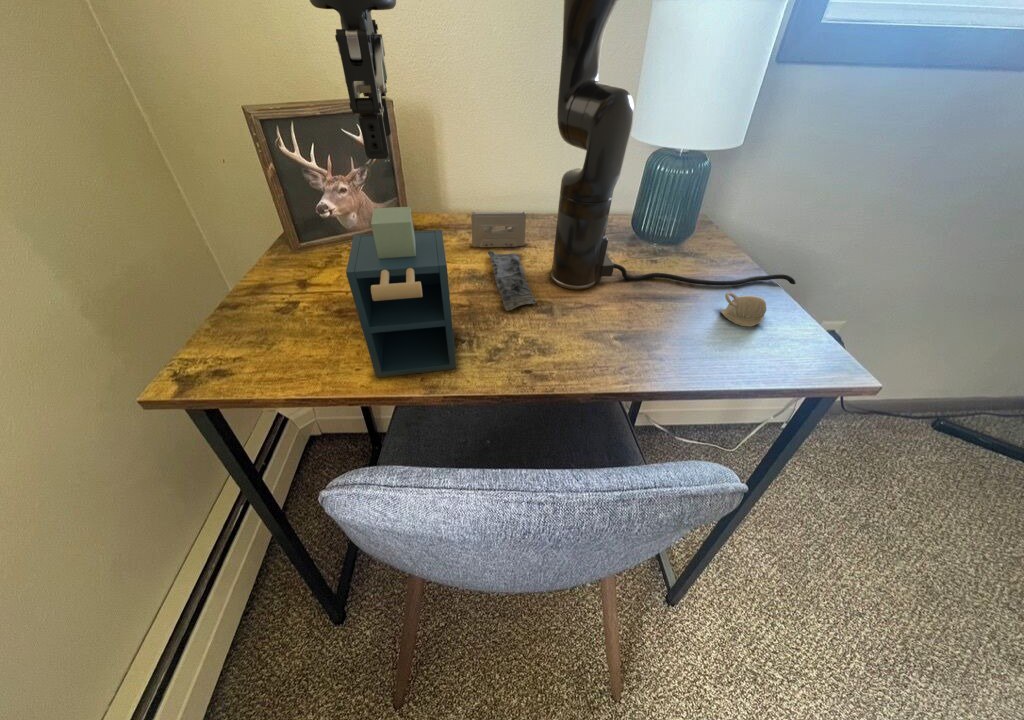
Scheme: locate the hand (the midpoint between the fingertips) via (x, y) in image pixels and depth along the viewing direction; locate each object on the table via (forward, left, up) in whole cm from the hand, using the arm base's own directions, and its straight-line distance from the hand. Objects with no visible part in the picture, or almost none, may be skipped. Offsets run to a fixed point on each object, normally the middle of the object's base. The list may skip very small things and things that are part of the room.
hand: (380, 145), depth 45 cm
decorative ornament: (-58, 0, -31) cm, 65 cm away
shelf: (0, -5, -21) cm, 22 cm away
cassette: (-19, -34, -31) cm, 49 cm away
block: (0, 0, -12) cm, 12 cm away
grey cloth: (-19, -19, -31) cm, 41 cm away
